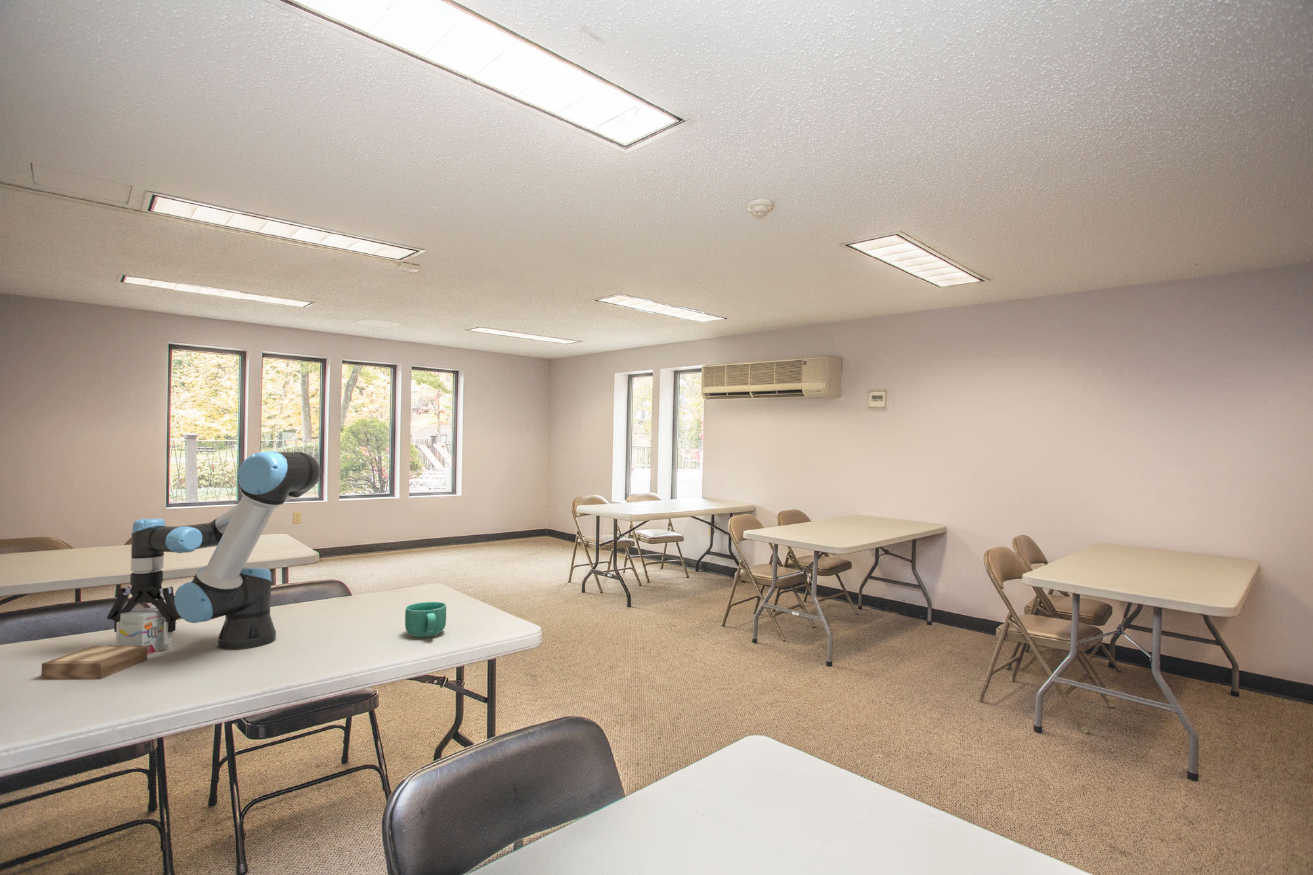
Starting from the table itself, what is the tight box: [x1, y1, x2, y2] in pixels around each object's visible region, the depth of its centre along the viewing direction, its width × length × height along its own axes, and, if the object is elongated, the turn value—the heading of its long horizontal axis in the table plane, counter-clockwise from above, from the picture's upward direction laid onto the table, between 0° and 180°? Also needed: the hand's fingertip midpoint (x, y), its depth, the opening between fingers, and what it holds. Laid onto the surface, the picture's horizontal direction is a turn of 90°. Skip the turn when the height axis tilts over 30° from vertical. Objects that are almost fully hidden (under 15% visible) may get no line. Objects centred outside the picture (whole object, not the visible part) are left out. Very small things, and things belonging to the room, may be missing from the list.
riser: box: [40, 645, 148, 680], centre depth 166 cm, size 15×15×4 cm
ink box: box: [118, 607, 170, 655], centre depth 182 cm, size 9×9×12 cm
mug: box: [404, 601, 447, 639], centre depth 198 cm, size 17×13×10 cm
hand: (144, 643), depth 182 cm, fingers open, 13 cm apart
